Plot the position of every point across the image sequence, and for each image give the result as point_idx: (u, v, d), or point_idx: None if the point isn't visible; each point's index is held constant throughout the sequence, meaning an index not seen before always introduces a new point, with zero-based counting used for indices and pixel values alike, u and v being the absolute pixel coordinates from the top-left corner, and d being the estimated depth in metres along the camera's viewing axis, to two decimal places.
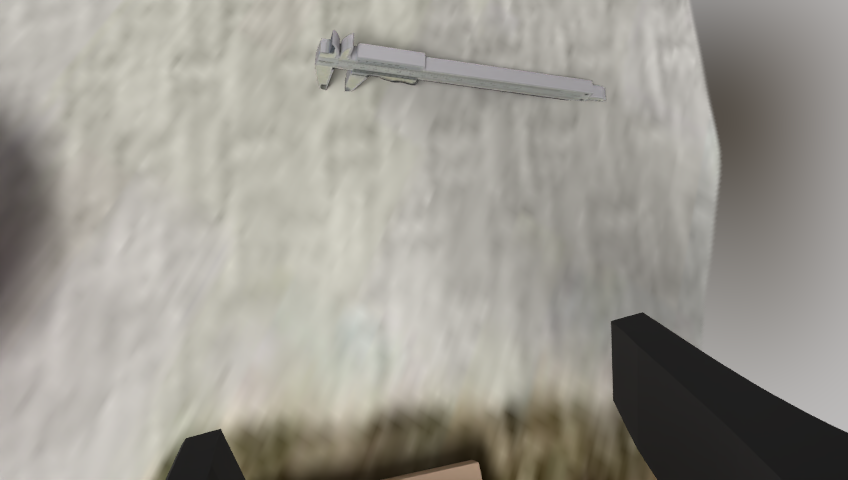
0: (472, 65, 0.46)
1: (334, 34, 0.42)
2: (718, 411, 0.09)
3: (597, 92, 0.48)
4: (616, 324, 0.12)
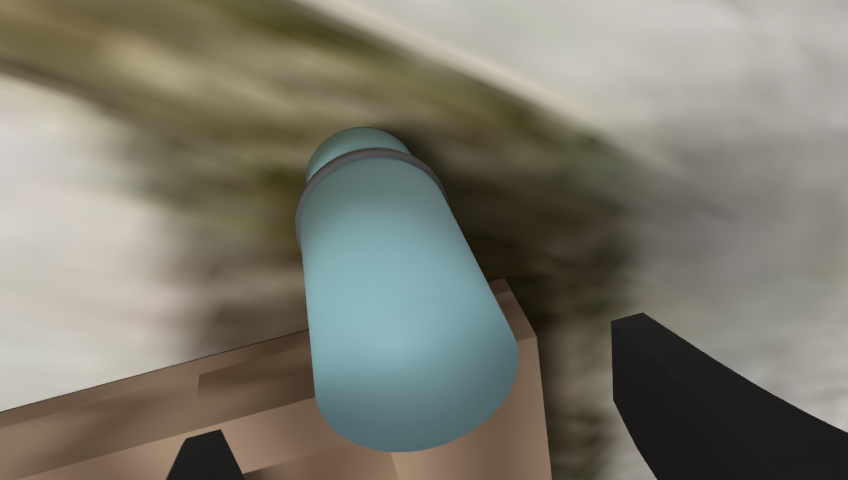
0: None
1: None
2: (718, 411, 0.09)
3: None
4: (616, 324, 0.12)
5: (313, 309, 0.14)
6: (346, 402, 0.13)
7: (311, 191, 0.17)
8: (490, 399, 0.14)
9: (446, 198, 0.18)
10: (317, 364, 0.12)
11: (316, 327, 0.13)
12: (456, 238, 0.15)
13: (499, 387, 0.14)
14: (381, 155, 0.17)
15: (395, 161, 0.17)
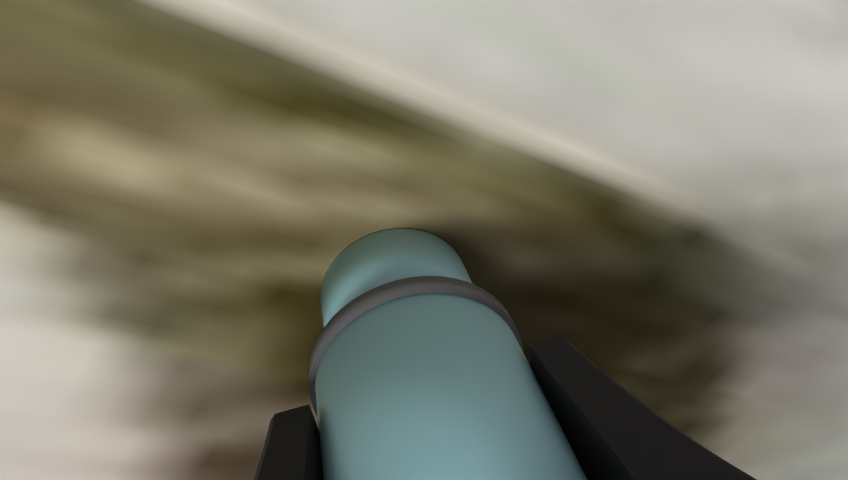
0: None
1: None
2: (613, 442, 0.09)
3: None
4: (532, 347, 0.12)
5: None
6: None
7: (332, 341, 0.12)
8: None
9: (519, 340, 0.13)
10: None
11: None
12: (562, 454, 0.09)
13: None
14: (433, 291, 0.12)
15: (453, 298, 0.12)
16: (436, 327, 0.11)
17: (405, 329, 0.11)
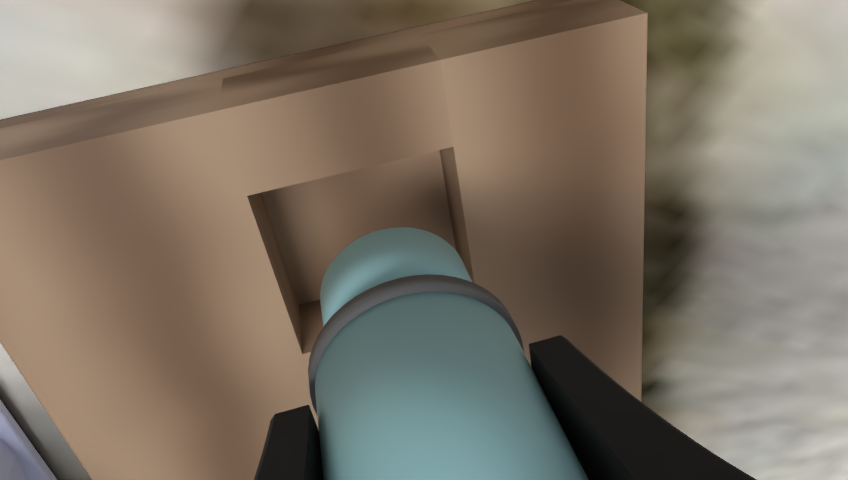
0: None
1: None
2: (613, 442, 0.09)
3: None
4: (532, 347, 0.12)
5: None
6: None
7: (333, 338, 0.12)
8: None
9: (520, 340, 0.13)
10: None
11: None
12: (564, 454, 0.09)
13: None
14: (435, 289, 0.12)
15: (454, 298, 0.12)
16: (438, 325, 0.11)
17: (407, 327, 0.11)
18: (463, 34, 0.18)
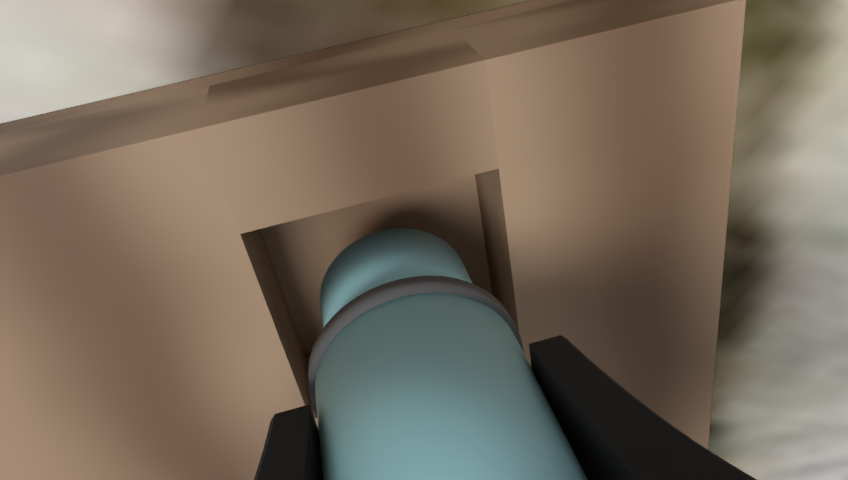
0: None
1: None
2: (613, 442, 0.09)
3: None
4: (532, 347, 0.12)
5: None
6: None
7: (333, 339, 0.12)
8: None
9: (520, 341, 0.13)
10: None
11: None
12: (564, 456, 0.09)
13: None
14: (435, 290, 0.12)
15: (454, 298, 0.12)
16: (439, 327, 0.11)
17: (407, 328, 0.11)
18: (509, 27, 0.14)
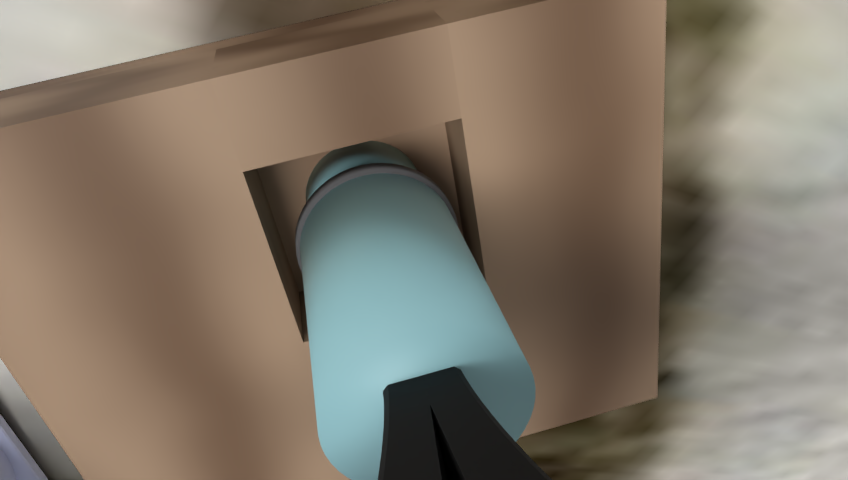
0: None
1: None
2: None
3: None
4: (422, 378, 0.11)
5: (316, 338, 0.13)
6: (351, 441, 0.12)
7: (313, 208, 0.16)
8: None
9: (454, 217, 0.17)
10: (321, 401, 0.11)
11: (320, 359, 0.12)
12: (468, 263, 0.14)
13: (514, 425, 0.13)
14: (387, 171, 0.16)
15: (402, 177, 0.16)
16: (388, 191, 0.15)
17: (365, 192, 0.15)
18: None
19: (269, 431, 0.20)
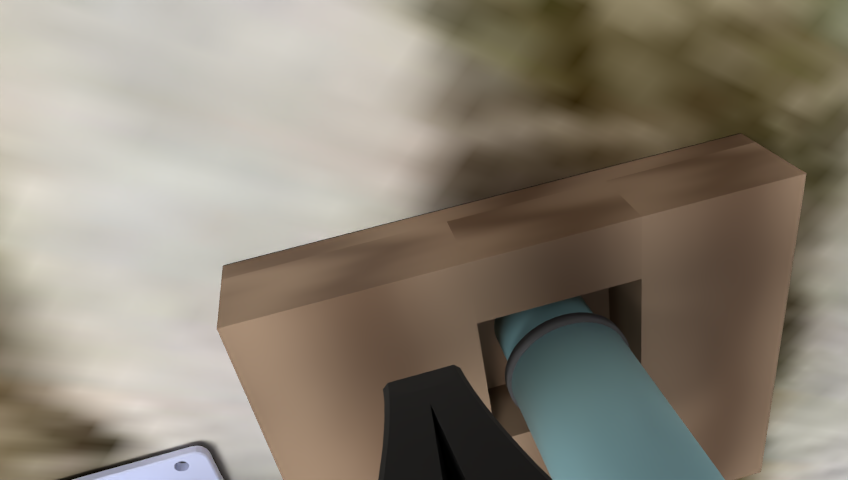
0: None
1: None
2: None
3: None
4: (422, 377, 0.11)
5: (573, 473, 0.17)
6: None
7: (527, 349, 0.21)
8: None
9: None
10: None
11: None
12: (672, 409, 0.18)
13: None
14: (586, 321, 0.21)
15: (596, 326, 0.21)
16: (594, 342, 0.20)
17: (577, 343, 0.20)
18: (647, 184, 0.21)
19: None
